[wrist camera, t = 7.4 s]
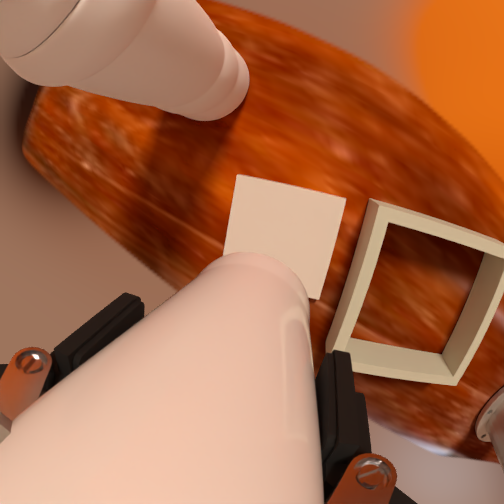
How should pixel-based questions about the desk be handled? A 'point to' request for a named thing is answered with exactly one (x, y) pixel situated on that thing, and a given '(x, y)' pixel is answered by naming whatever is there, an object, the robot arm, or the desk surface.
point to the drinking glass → (184, 404)
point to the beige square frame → (467, 328)
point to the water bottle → (127, 52)
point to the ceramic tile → (285, 226)
